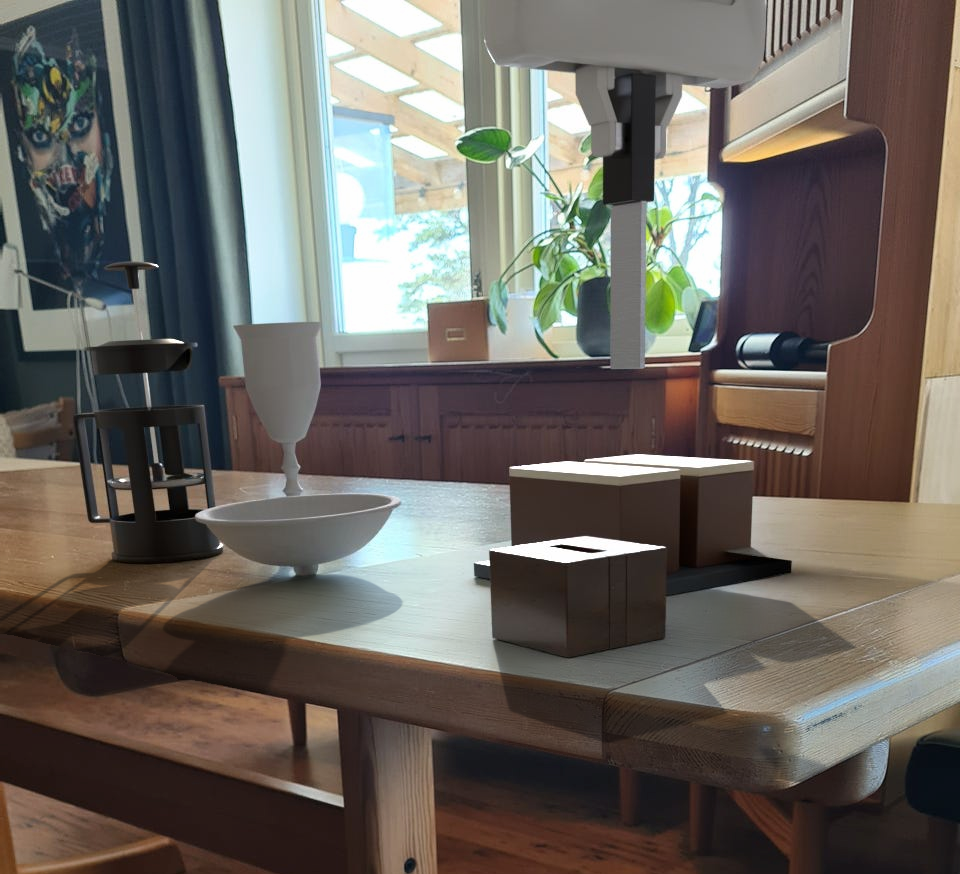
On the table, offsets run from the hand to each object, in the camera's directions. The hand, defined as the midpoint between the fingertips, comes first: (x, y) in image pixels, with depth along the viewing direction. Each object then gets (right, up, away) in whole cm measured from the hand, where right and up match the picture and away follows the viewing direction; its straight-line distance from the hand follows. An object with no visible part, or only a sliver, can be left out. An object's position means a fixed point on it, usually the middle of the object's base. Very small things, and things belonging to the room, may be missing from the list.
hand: (629, 157), depth 82 cm
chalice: (-25, -18, +29) cm, 43 cm away
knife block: (-4, -32, -9) cm, 34 cm away
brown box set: (+1, -24, +10) cm, 26 cm away
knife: (0, -12, +5) cm, 13 cm away
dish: (-23, -23, +16) cm, 36 cm away
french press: (-37, -19, +29) cm, 51 cm away
